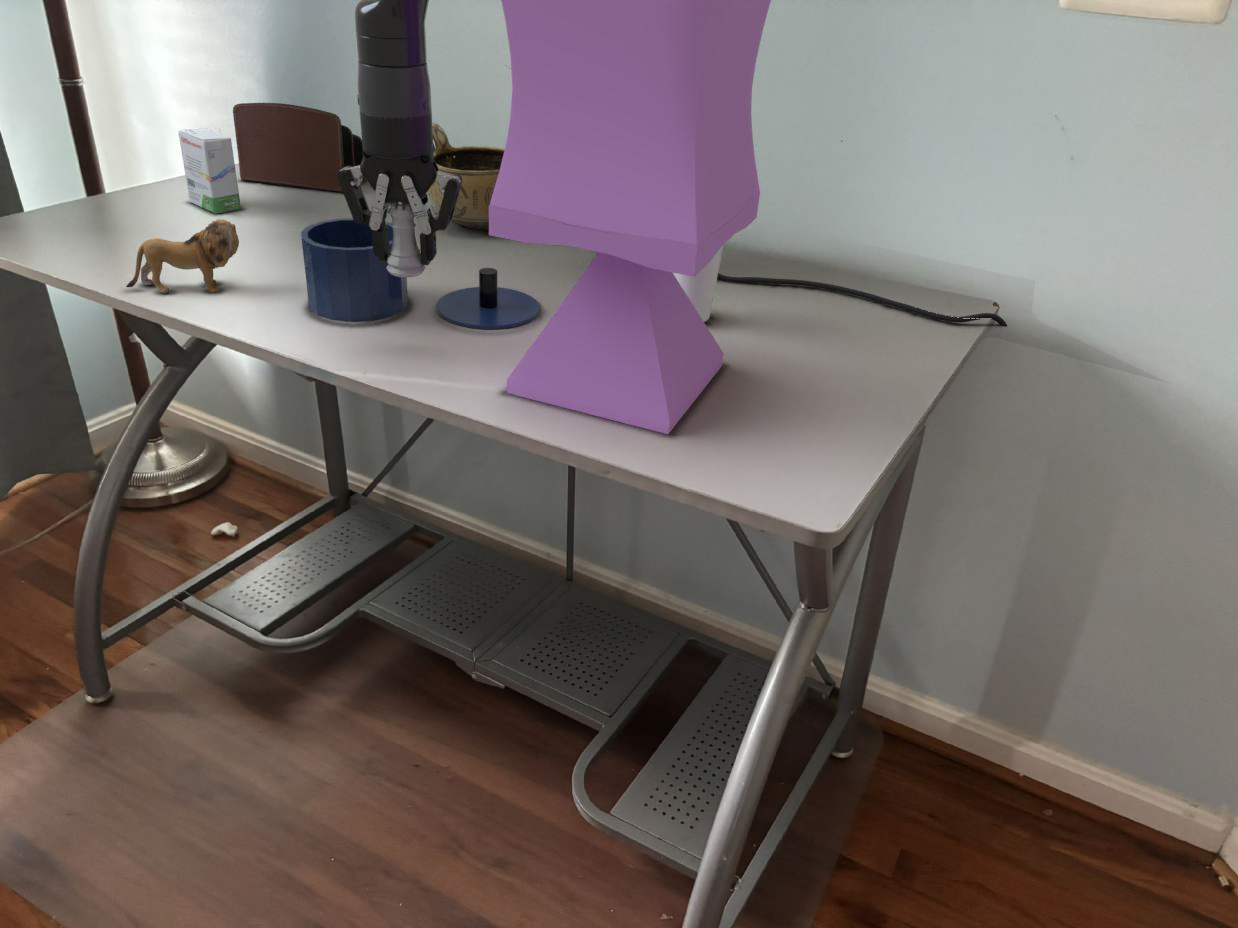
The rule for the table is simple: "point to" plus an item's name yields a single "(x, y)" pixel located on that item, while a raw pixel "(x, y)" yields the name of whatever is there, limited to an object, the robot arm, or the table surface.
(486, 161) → the ceramic bowl
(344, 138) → the letter holder
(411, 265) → the rook chess piece
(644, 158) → the purple table lamp
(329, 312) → the pot
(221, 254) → the lion figurine
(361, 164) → the robot arm
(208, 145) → the ink box
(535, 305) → the lid
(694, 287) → the drinking glass
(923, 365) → the table surface
